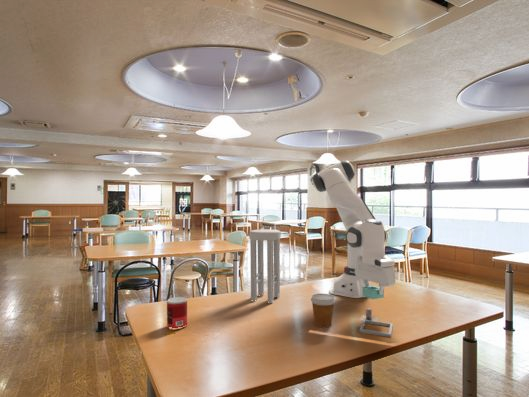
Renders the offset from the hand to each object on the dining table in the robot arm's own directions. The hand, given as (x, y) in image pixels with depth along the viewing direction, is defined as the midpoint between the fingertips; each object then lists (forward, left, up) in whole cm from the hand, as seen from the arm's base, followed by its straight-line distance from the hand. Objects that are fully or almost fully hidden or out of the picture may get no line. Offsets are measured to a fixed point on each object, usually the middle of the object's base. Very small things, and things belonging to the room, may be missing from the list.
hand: (373, 291), depth 137 cm
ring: (0, 0, -2) cm, 2 cm away
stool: (-54, +10, -12) cm, 56 cm away
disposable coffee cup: (-18, -14, -12) cm, 26 cm away
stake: (-2, -1, -12) cm, 12 cm away
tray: (+2, -11, -12) cm, 16 cm away
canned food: (-72, -37, -13) cm, 82 cm away
